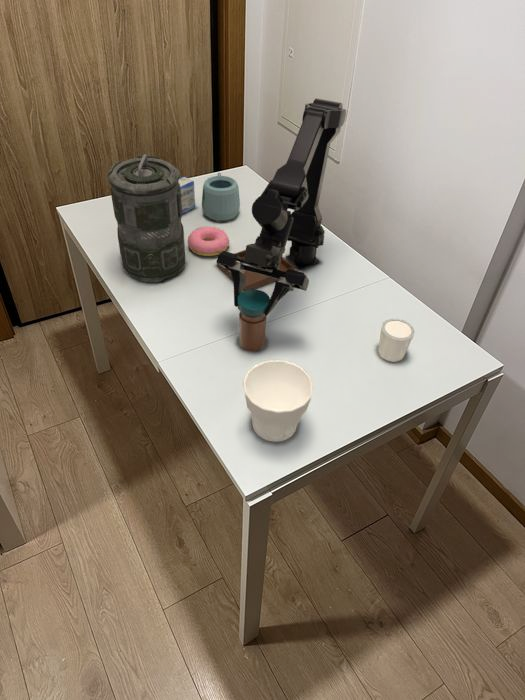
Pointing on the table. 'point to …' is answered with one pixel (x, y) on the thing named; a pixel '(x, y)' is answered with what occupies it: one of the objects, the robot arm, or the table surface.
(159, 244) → the canister
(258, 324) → the jar
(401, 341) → the cream cylinder
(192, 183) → the medicine box
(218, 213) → the mug
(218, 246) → the doughnut
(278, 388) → the cream flower pot
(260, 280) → the tray
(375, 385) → the table surface
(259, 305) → the lid
